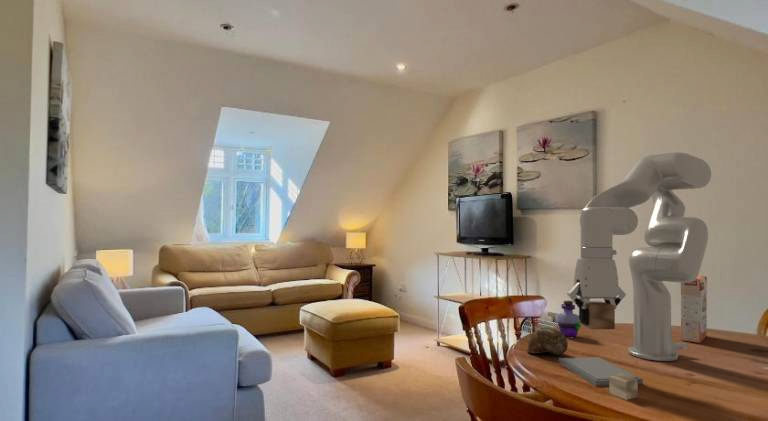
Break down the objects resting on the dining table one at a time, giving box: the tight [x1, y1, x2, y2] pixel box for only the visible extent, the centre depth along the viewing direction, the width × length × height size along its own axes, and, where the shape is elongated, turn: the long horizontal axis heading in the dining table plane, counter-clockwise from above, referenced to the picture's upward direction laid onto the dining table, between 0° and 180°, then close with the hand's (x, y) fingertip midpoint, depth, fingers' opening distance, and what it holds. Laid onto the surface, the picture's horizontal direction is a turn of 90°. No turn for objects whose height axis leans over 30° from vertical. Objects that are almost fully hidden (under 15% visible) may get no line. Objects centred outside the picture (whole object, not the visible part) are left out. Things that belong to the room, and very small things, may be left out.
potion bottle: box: [555, 300, 582, 338], centre depth 154 cm, size 9×9×12 cm
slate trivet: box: [557, 356, 644, 387], centre depth 116 cm, size 12×18×1 cm, turn 6°
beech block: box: [608, 374, 639, 401], centre depth 101 cm, size 4×4×4 cm
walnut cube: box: [580, 300, 616, 330], centre depth 116 cm, size 6×6×6 cm
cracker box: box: [680, 274, 708, 344], centre depth 152 cm, size 14×6×21 cm, turn 137°
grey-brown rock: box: [526, 326, 568, 356], centre depth 133 cm, size 11×9×8 cm
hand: (596, 323), depth 116 cm, fingers closed on walnut cube, 6 cm apart
